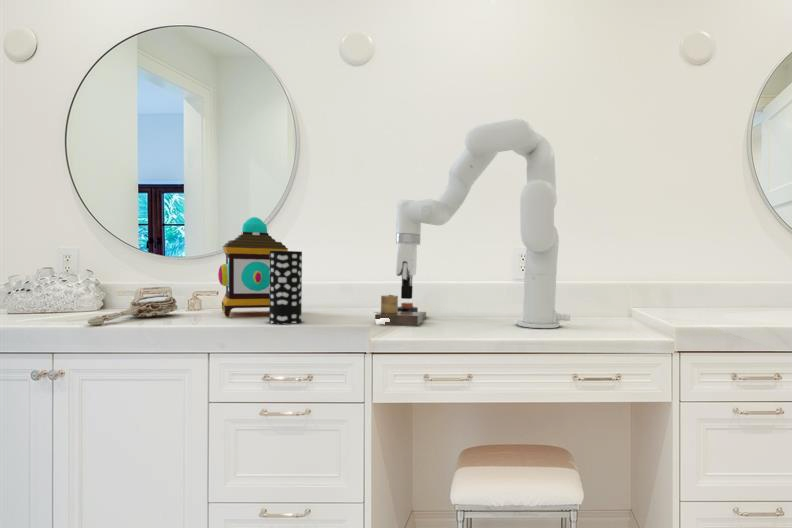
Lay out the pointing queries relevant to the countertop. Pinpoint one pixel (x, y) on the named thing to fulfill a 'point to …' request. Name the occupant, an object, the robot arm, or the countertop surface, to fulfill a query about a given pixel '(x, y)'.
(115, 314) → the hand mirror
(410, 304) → the button
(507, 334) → the countertop surface
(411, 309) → the button block
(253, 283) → the decorative lantern
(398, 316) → the panel
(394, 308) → the knob
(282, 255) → the white-spotted black cylinder
